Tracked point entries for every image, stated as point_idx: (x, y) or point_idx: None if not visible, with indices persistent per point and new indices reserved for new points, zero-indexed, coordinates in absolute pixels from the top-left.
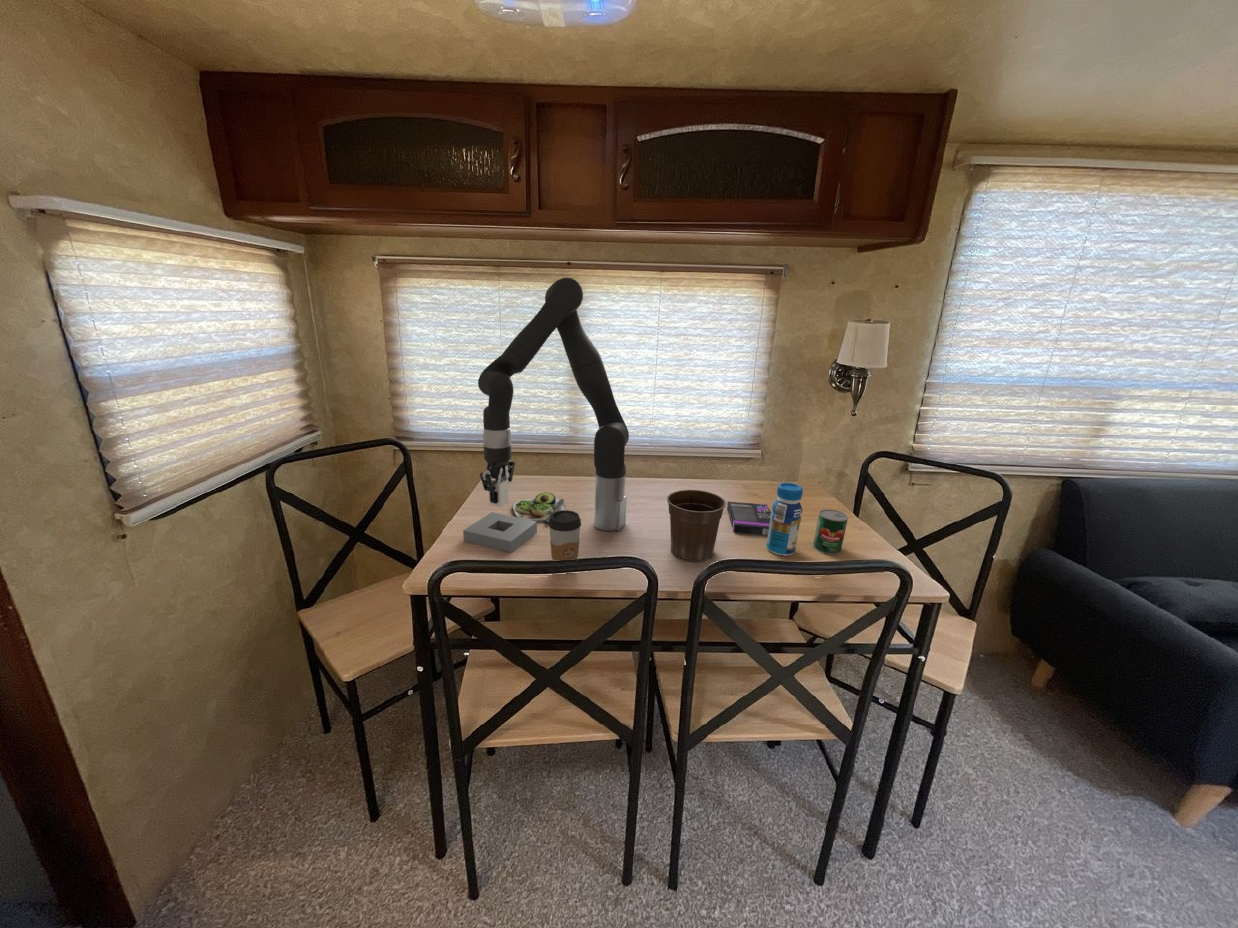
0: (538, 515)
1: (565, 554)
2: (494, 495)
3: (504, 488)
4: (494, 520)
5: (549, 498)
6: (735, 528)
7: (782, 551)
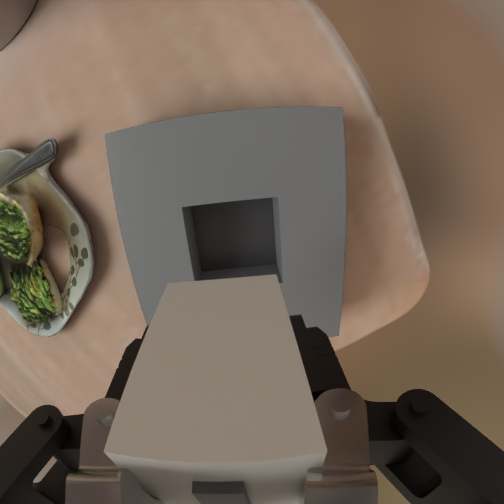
0: (39, 215)
1: None
2: (333, 369)
3: (207, 387)
4: None
5: None
6: None
7: None
